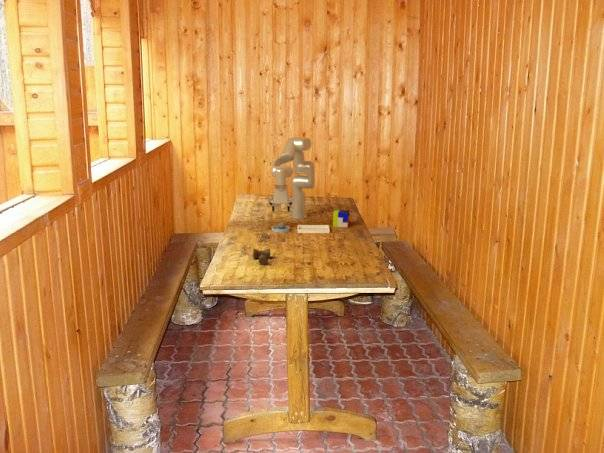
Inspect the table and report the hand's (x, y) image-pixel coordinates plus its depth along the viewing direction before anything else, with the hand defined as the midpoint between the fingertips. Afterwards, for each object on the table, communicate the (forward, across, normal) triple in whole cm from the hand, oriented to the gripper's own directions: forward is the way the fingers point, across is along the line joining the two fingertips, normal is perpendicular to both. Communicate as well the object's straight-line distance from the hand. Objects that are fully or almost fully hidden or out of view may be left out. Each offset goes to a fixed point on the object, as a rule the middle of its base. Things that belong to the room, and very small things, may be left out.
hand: (280, 211), depth 396 cm
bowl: (+13, 0, +1) cm, 13 cm away
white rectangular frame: (+13, -22, +1) cm, 25 cm away
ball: (+12, 0, +1) cm, 12 cm away
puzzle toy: (+14, -42, -16) cm, 47 cm away
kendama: (+11, +9, +72) cm, 74 cm away
